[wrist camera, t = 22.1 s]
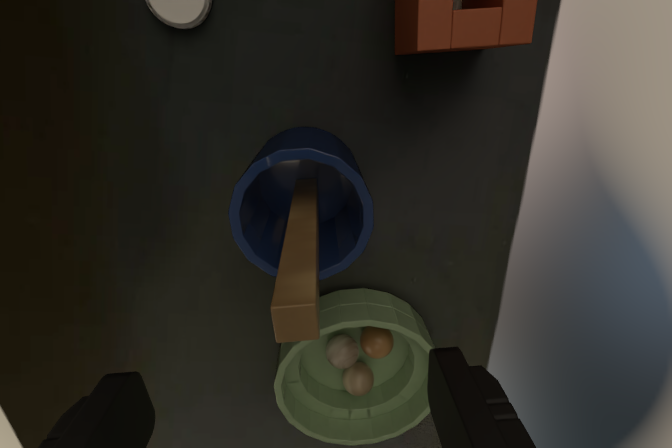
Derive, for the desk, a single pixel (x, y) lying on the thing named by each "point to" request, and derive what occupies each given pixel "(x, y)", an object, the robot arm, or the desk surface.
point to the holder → (461, 25)
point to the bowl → (389, 372)
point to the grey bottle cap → (180, 12)
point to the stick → (299, 270)
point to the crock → (277, 192)
